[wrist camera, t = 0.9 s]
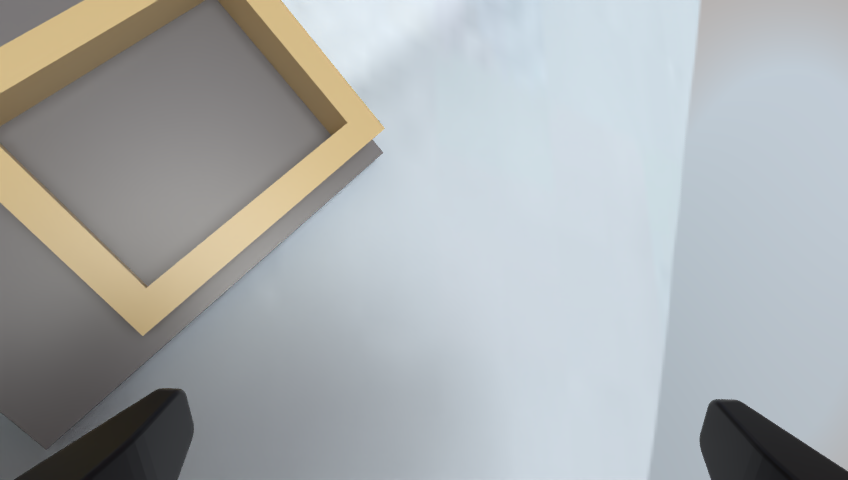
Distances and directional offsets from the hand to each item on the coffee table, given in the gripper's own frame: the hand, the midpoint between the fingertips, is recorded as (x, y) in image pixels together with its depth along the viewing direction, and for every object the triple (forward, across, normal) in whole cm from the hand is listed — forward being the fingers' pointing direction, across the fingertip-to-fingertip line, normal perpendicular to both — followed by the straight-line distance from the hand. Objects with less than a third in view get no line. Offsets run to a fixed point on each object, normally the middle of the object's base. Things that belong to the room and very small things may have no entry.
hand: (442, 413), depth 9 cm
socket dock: (+10, +12, -2) cm, 16 cm away
